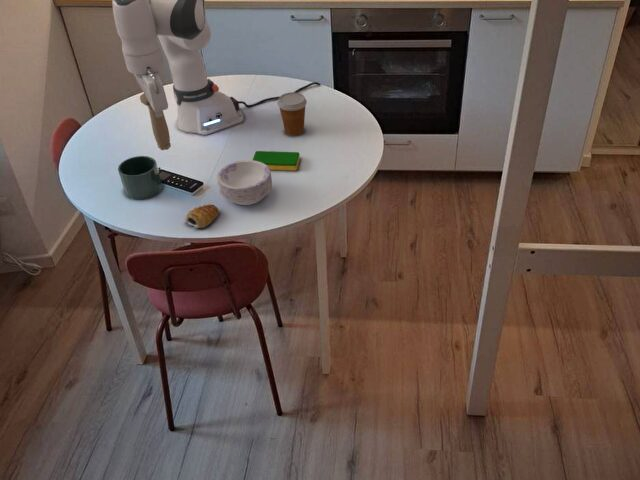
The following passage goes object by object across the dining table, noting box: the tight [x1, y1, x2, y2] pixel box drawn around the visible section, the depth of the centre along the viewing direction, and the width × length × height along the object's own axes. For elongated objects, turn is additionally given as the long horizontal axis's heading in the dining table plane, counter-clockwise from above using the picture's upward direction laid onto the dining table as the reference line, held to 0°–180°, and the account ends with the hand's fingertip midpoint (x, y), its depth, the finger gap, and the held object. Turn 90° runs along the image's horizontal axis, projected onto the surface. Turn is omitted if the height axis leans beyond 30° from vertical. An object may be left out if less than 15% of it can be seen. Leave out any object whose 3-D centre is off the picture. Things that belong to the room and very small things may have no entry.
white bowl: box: [216, 159, 273, 206], centre depth 176 cm, size 15×15×8 cm
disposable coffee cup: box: [277, 91, 308, 137], centre depth 202 cm, size 10×10×12 cm
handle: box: [139, 93, 172, 151], centre depth 161 cm, size 5×6×15 cm
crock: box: [117, 155, 163, 200], centre depth 179 cm, size 11×11×8 cm
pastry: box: [184, 204, 219, 229], centre depth 169 cm, size 9×7×4 cm
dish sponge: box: [252, 150, 301, 172], centre depth 191 cm, size 7×14×2 cm, turn 86°
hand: (156, 111), depth 159 cm, fingers closed on handle, 4 cm apart
